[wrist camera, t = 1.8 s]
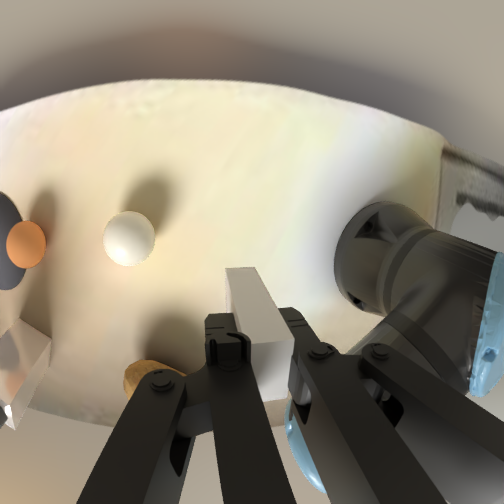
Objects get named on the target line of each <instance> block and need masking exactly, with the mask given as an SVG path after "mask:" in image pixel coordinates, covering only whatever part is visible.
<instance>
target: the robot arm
mask: <svg viewBox="0 0 504 504" xmlns="http://www.w3.org/2000/svg"><path fill="white" fill-rule="evenodd" d="M334 274H335V280H336V283H337V286H338V288H339V290H340V292H341V293H342V295H343V296H344V297H345V298H346V299H347V300H348V301H349V302H350V303H352V304H353V305H354V306H355V307H356V308H358V309H360V310H362V311H365V312H368V313H372V314H375V315H379V316H382V317H385V318H384V319H383V320H382V321H381V322H380V323H379V324H378V325H377V326H376V327H375V328H373V329H372V330H371V331H370V332H369V333H368V334H367V335H366V336H365V337H364V338H363V339H362V340H361V341H359V342H358V343H357V344H356V345H355V346H354V347H353V348H352V349H350V350H349V351H348V352H347V353H346V354H340V353H339V351H338V350H337V349H336V348H335V347H334V346H332V345H330V344H328V343H325V342H320V340H319V339H318V337H317V336H316V334H315V333H314V331H313V330H312V329H311V327H310V326H309V325H308V323H307V321H306V320H305V318H304V317H303V316H302V314H301V313H300V312H299V311H297V310H296V309H294V308H292V307H288V308H277V307H276V305H275V303H274V301H273V299H272V298H271V296H270V294H269V292H268V290H267V289H266V287H265V285H264V283H263V281H262V280H261V278H260V276H259V274H258V272H257V271H256V269H255V267H244V268H225V281H226V313H218V314H209V315H208V316H207V318H206V319H205V338H206V342H205V351H206V364H205V365H204V367H203V368H202V369H201V370H199V371H197V372H196V373H193V374H190V375H187V376H182V375H181V374H179V373H178V372H177V371H174V370H171V369H157V370H152V371H150V372H149V373H147V374H145V375H144V376H143V378H142V379H141V380H140V382H139V384H138V385H137V387H136V389H135V391H134V393H133V394H132V396H131V398H130V400H129V402H128V403H127V405H126V407H125V409H124V411H123V413H122V414H121V416H120V418H119V420H118V422H117V424H116V426H115V428H114V429H113V432H112V433H111V435H110V437H109V439H108V441H107V443H106V445H105V447H104V448H103V451H102V453H101V455H100V457H99V458H98V460H97V462H96V464H95V466H94V468H93V470H92V472H91V474H90V476H89V478H88V480H87V482H86V484H85V487H84V488H83V490H82V493H81V495H80V497H79V499H78V501H77V503H76V504H179V500H180V496H181V492H182V488H183V485H184V481H185V477H186V473H187V468H188V465H189V461H190V458H191V453H192V450H193V446H194V442H195V438H196V436H197V435H200V434H203V433H206V432H209V431H212V430H213V433H214V440H215V449H216V456H217V463H218V470H219V476H220V483H221V490H222V496H223V501H224V504H297V503H296V500H295V498H294V495H293V492H292V489H291V486H290V484H289V481H288V478H287V475H286V472H285V469H284V466H283V463H282V460H281V457H280V454H279V451H278V449H277V445H276V442H275V439H274V436H273V433H272V430H271V427H270V423H269V420H268V417H267V414H266V411H265V408H264V404H263V401H271V400H277V399H284V398H287V394H288V388H289V391H290V393H291V395H292V398H291V399H290V400H289V402H288V404H287V406H286V410H285V430H286V434H287V438H288V442H289V445H290V448H291V451H292V453H293V456H294V458H295V460H296V461H297V464H298V465H299V467H300V469H301V471H302V472H303V474H304V475H305V476H306V478H307V479H308V480H309V481H310V483H311V484H312V485H313V486H314V487H316V488H317V489H318V490H319V491H321V492H323V493H326V494H327V495H328V497H329V499H330V502H331V504H504V422H503V421H501V420H500V419H498V418H497V417H495V416H494V415H492V414H491V413H489V412H488V411H486V410H485V409H483V408H482V407H480V406H479V405H477V404H476V403H474V402H473V401H471V400H470V399H468V398H467V397H465V395H466V394H467V393H468V392H470V394H471V395H472V396H477V397H483V396H485V395H486V394H488V393H489V392H490V390H491V389H492V388H493V387H494V386H495V385H496V384H497V383H498V381H499V380H500V378H501V377H502V375H503V374H504V254H503V253H502V252H496V251H493V250H491V249H488V248H486V247H483V246H480V245H478V244H475V243H472V242H469V241H467V240H464V239H461V238H458V237H455V236H452V235H449V234H446V233H443V232H440V231H437V230H435V229H433V228H432V227H431V226H430V225H429V224H428V223H427V222H425V221H424V220H423V219H422V218H421V217H420V216H419V215H418V214H416V213H415V212H414V211H413V210H411V209H410V208H408V207H406V206H404V205H400V204H396V203H392V202H378V203H374V204H372V205H369V206H367V207H366V208H364V209H363V210H361V211H360V212H359V213H357V214H356V215H355V216H354V217H353V218H352V220H351V221H350V222H349V223H348V225H347V226H346V228H345V229H344V231H343V233H342V235H341V237H340V239H339V242H338V245H337V248H336V252H335V258H334Z"/></svg>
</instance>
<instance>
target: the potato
mask: <svg viewBox="0 0 504 504" xmlns="http://www.w3.org/2000/svg"><path fill="white" fill-rule="evenodd" d="M157 369H171V370H174V371H177V370H175V369H173V368H171V367H169V366H167V365H165V364H162V363H159V362H156V361H154V360H139V361H137V362H135V363H133V364H131V365H129V367H128V368H127V369H126V370H125V374H124V381H123V384H124V390H125V393H126V395H127V397H128V399H129V400H130V398H131V396H132V394H133V393H134V391H135V389H136V387H137V385H138V384H139V382H140V380H141V379H142V378H143V376H144V375H145V374H147V373H149V372H150V371H152V370H157ZM177 372H178V373H179V374H181V375H182V376H187V375H186V374H184V373H182V372H180V371H177Z"/></svg>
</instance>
